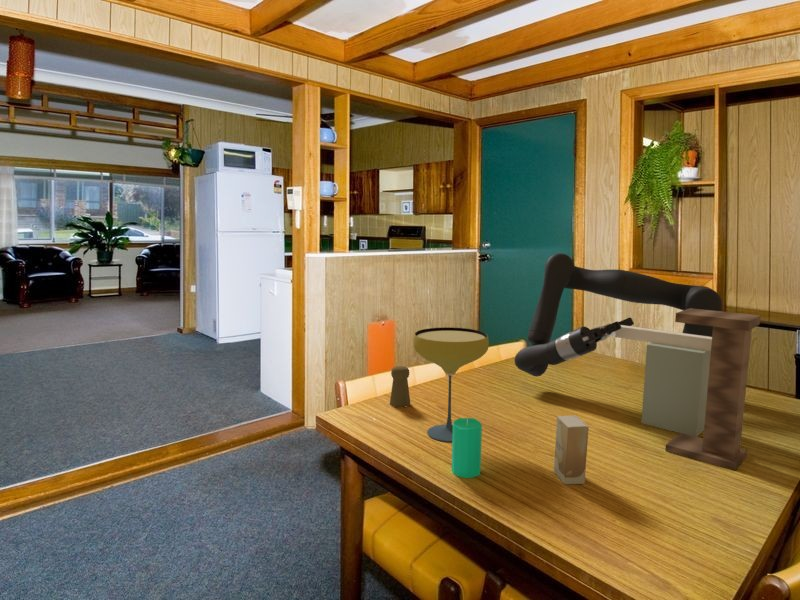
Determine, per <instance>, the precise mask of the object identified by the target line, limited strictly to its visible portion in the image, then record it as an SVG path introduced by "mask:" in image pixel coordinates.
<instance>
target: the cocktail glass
mask: <svg viewBox="0 0 800 600" xmlns="http://www.w3.org/2000/svg"><path fill="white" fill-rule="evenodd" d="M412 340H413V341H412V342H413V343H412V344H413V348H414V351H416V353H417V354H418V355H419V356H420V357H422V359H425V360H427V361H429V362H431V363H432V364H435V365H436V366H438V367H440V368H441V369H442V370H443V371H444V373H445V375H447V376H448V397H447V398H448V403H447V418H446V419H447V420H446V424H437V425H434V426H431V427H429V428H428V429H427V431H426V434H427V436H428V437H430V438H432V440H435V441H439V442H445V443H452V432H453V422H452V376H454V375H455V374H456V373H457V371H458V370H459V369H460V368H462V367H463V366H467V365H468V364H470V363H472V362H475V361H477V360H479V359H481V358H482V357H483V356H484V355H486V354H487V352H488V350H489V345H490V343H489V335H488V334H487V333H486V332H484V331H480V330H477V329H474V328H472V329H471V328H464V327H451V326H450V327H445V326H443V327H431V328H423V329H420V330H418V331H416V332H414V334H413V339H412Z"/></svg>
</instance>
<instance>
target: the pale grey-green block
mask: <svg viewBox="0 0 800 600" xmlns="http://www.w3.org/2000/svg"><path fill="white" fill-rule="evenodd" d="M710 355H711V351H705V350H698V349H691V348H685V347H678V346H671V345H664V344H658V343H651V342H649V343H647V344H646V353H645V367H644V382H643V395H642V396H643V397H642V412H641V424H642V423H643V424H642V425H646V424H647V425H646V426H650V425H651V426H650V427H654V426H655V428H658V427H659V429H662V428H663V429H662V430H666V431H669V432H670V431H671V432H675V433H677V434H679V433H683V434H687V435H691V436H695V437H699V435H700V434H701V433H703V432H704V424H705V413H706V401H707V390H708V378H709V367H710Z"/></svg>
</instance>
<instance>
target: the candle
mask: <svg viewBox="0 0 800 600" xmlns="http://www.w3.org/2000/svg"><path fill="white" fill-rule="evenodd" d="M452 425H453V432H452V442H451V448H452V449H451V472H452V474H453V475H455V476H457V477H459V478H466V479H469V478H476V477H478V476H480V474H481V470H482V466H481V465H482V435H483V434H482V432H483V430H482V429H483V424H482V423H481V422H480V420H478V419H475V418H473V417H472V418H471V417H469V416H468V415H467V416H466V418H465V417H463V418H461V417H460V418H457V419H454V420H453V422H452Z"/></svg>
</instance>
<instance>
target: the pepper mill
mask: <svg viewBox="0 0 800 600" xmlns="http://www.w3.org/2000/svg"><path fill="white" fill-rule="evenodd" d="M390 373H391V374H390V376H391V377H392V384H391V392H390V400H389V405H392V406H395V407H394V408H397V407H403V408H406V407H405V406H408V407H410V406H411V405H410V403H411V395H410V389H409V388H410V387H409V381H408V379H409V377H410V370H409V367H407V366H403V365H397V366H394V367H393V368H391V371H390ZM409 405H410V406H409ZM392 406H391V407H392Z"/></svg>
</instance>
